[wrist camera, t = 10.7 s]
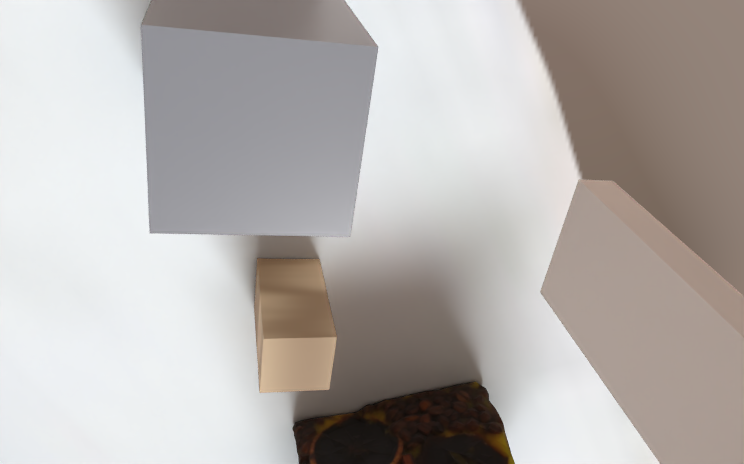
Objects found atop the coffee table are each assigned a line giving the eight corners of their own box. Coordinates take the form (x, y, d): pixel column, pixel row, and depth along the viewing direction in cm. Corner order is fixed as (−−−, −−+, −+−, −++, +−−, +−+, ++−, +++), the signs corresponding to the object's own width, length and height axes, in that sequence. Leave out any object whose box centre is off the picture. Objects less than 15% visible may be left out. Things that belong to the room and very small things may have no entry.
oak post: (254, 308, 27) (259, 392, 23) (256, 258, 26) (263, 338, 22) (313, 307, 28) (329, 389, 24) (319, 258, 27) (337, 337, 22)
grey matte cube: (165, -31, 19) (140, 24, 13) (336, -12, 20) (378, 47, 15) (168, 131, 21) (149, 233, 16) (319, 140, 23) (350, 237, 17)
